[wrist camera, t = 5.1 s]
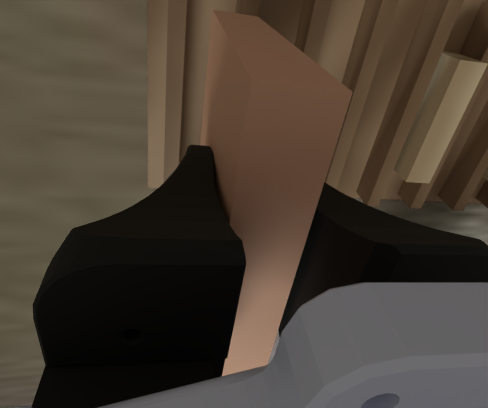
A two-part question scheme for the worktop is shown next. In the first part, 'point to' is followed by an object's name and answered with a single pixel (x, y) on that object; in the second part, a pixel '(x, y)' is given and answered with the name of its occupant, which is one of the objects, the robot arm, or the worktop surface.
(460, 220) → the worktop surface
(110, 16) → the worktop surface
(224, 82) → the salmon rectangular slab
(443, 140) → the offcut
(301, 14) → the rack
